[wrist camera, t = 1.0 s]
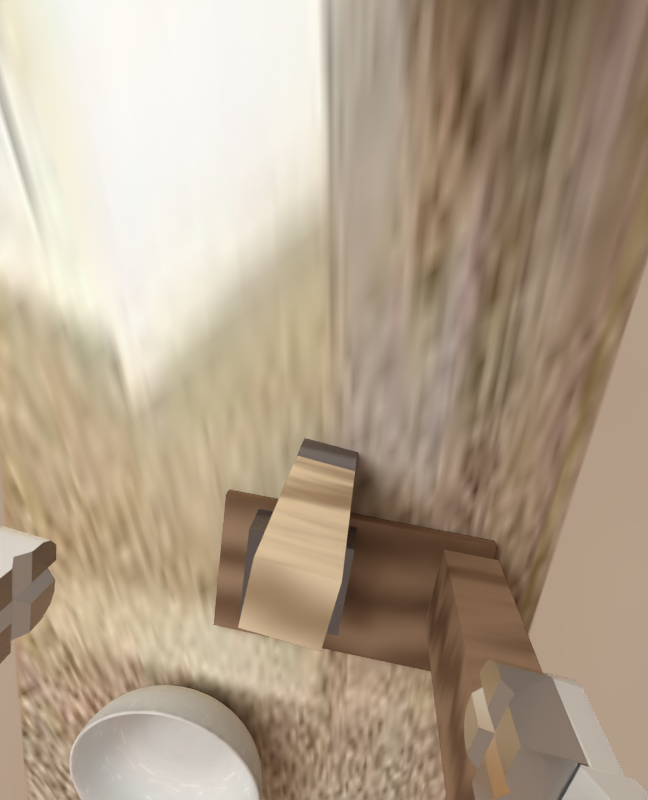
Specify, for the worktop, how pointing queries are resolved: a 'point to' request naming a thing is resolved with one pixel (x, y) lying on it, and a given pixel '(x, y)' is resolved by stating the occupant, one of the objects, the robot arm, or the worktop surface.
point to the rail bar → (303, 549)
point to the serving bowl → (165, 749)
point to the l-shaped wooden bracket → (402, 609)
